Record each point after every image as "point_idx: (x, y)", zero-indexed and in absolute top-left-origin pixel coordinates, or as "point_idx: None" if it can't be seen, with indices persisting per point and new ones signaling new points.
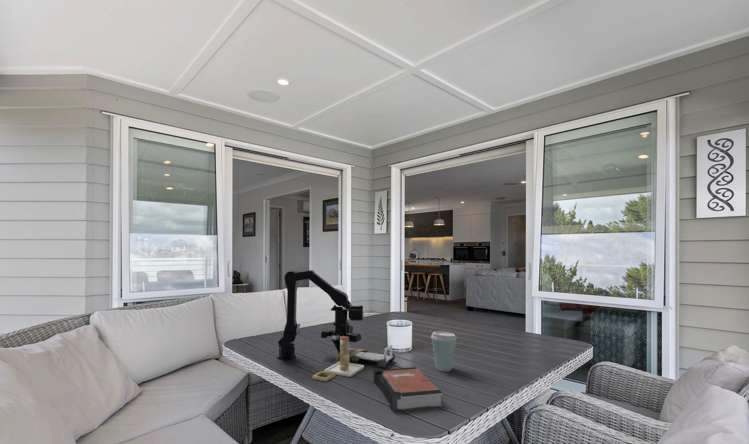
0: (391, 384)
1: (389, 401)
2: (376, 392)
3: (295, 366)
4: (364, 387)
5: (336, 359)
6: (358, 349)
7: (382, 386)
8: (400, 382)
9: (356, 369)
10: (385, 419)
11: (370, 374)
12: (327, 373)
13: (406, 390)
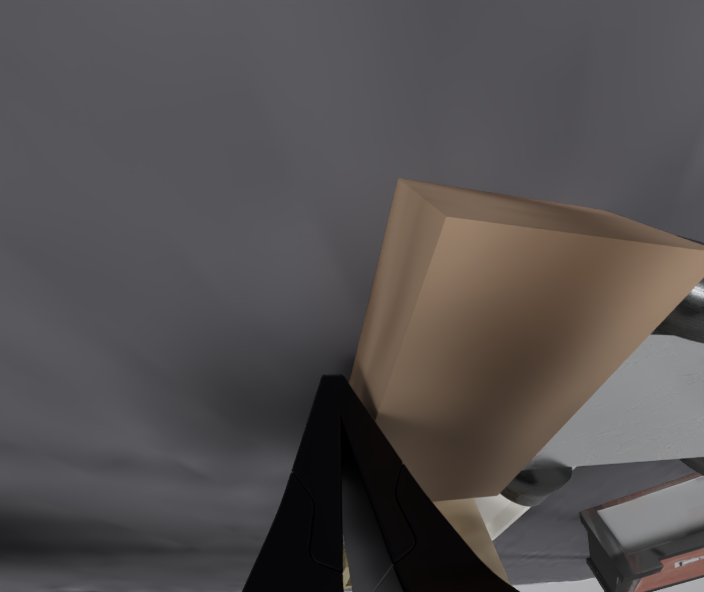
0: (638, 586)
1: (594, 560)
2: (570, 542)
3: (115, 555)
4: (538, 540)
5: None
6: (645, 274)
7: (604, 562)
8: (674, 574)
9: (523, 510)
10: (564, 575)
11: (581, 482)
12: None
13: (663, 584)
